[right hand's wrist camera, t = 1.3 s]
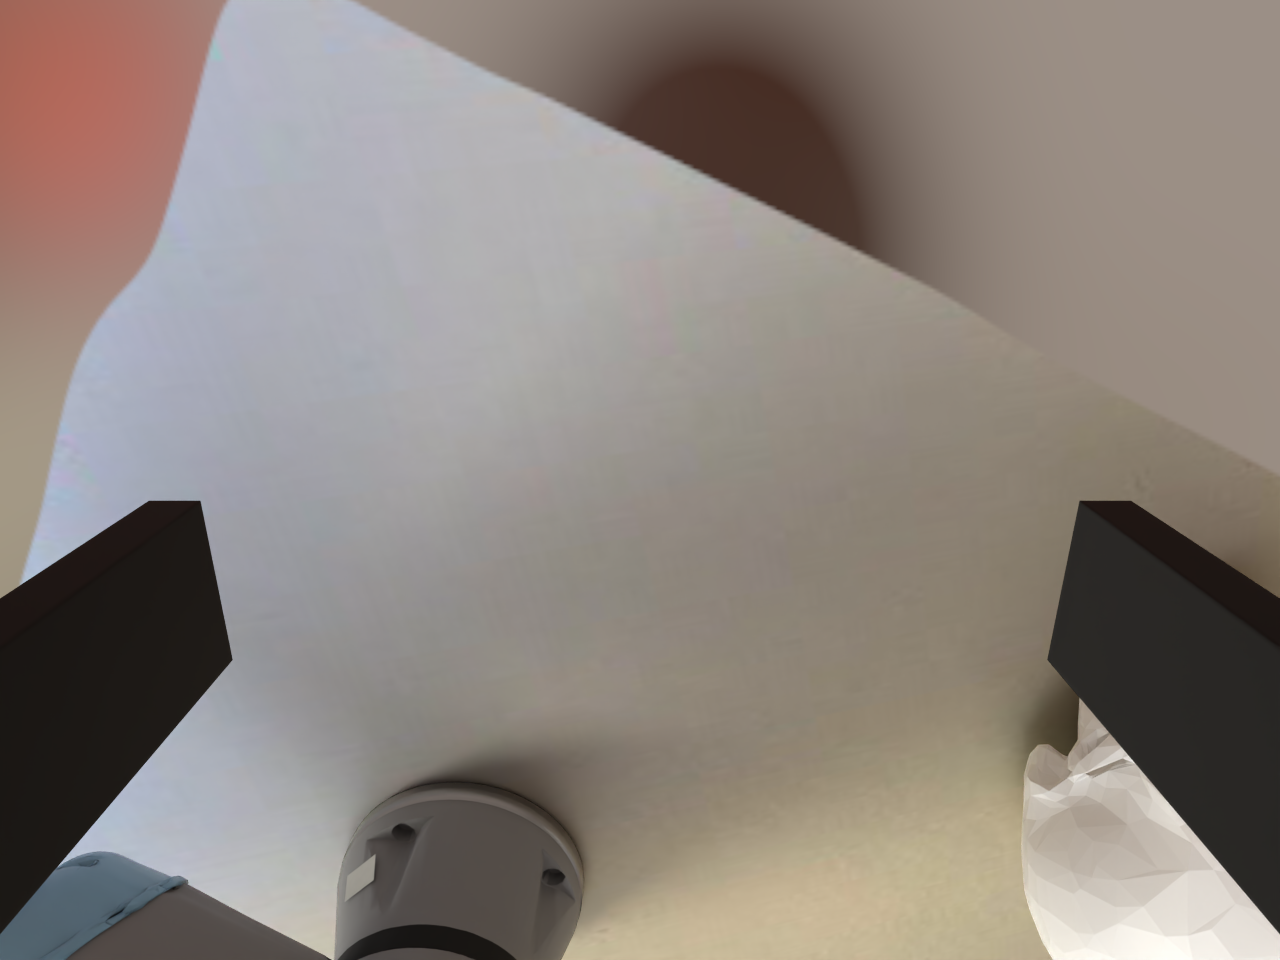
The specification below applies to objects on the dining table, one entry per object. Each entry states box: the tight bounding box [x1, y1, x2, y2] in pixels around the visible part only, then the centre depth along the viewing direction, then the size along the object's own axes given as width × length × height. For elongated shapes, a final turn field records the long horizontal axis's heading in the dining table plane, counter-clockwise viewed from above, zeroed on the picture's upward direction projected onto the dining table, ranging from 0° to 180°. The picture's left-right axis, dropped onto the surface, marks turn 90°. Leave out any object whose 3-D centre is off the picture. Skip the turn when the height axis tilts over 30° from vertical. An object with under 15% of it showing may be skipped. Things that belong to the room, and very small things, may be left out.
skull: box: [1021, 698, 1280, 960], centre depth 41 cm, size 13×22×16 cm, turn 169°
